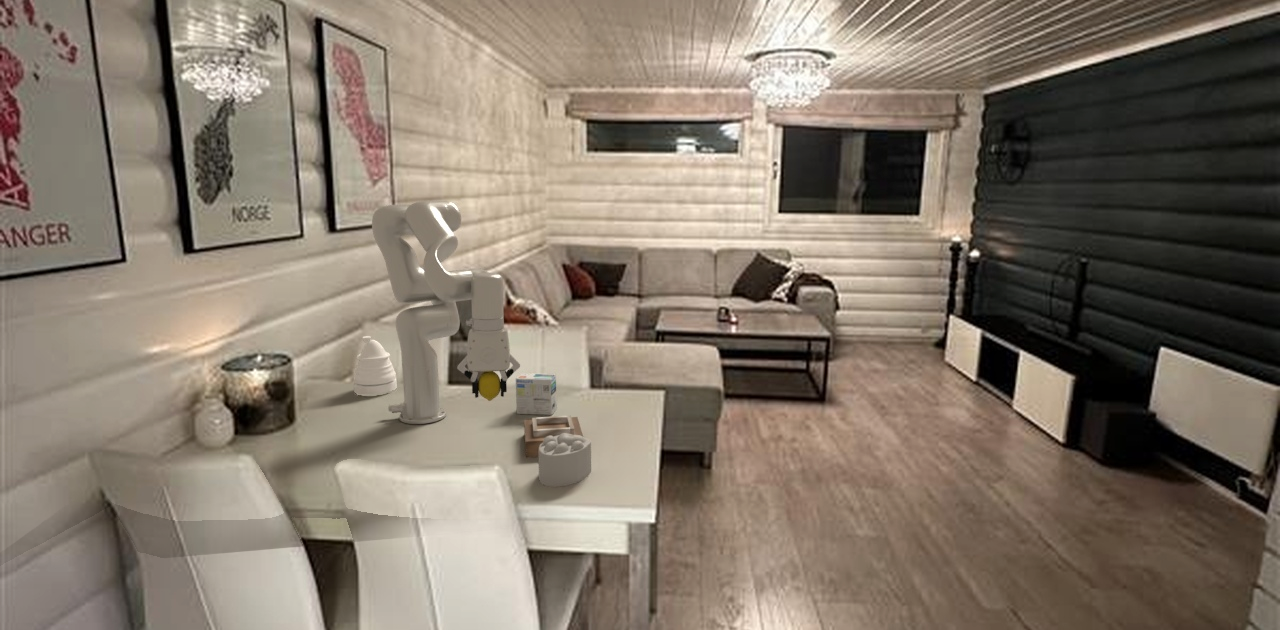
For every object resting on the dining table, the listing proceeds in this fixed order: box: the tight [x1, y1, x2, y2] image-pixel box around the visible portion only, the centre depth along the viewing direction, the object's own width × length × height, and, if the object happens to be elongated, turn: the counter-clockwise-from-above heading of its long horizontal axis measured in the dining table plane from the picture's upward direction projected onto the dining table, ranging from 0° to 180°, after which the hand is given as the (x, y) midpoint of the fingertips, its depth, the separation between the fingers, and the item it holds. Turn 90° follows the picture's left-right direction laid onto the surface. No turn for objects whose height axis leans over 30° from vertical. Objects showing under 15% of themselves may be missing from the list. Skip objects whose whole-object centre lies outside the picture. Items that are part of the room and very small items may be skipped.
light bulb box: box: [515, 372, 558, 416], centre depth 201 cm, size 11×7×11 cm, turn 84°
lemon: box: [478, 371, 501, 402], centre depth 171 cm, size 6×6×8 cm
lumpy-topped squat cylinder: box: [538, 433, 592, 488], centre depth 156 cm, size 10×13×9 cm
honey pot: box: [353, 335, 398, 394], centre depth 220 cm, size 13×13×18 cm
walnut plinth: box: [523, 415, 584, 458], centre depth 176 cm, size 14×16×6 cm
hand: (489, 394), depth 171 cm, fingers closed on lemon, 5 cm apart
